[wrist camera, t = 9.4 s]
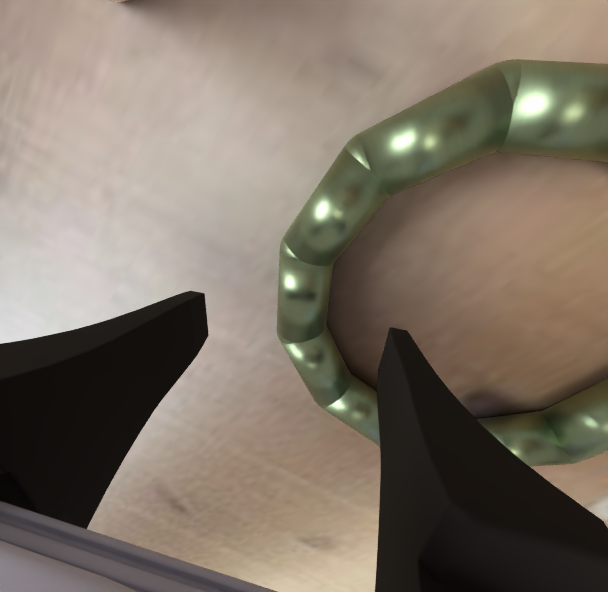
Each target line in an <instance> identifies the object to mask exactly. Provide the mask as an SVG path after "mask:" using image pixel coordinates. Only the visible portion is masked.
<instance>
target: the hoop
mask: <svg viewBox="0 0 608 592" xmlns="http://www.w3.org/2000/svg"><path fill="white" fill-rule="evenodd" d="M494 152H505V153H516V154H526V155H537V156H548V157H559V158H569V159H580V160H591V161H601V162H608V64H595V63H576V62H556V61H537V60H518V59H517V60H507V61H502V62H499V63H496V64H494V65H492V66H489V67H487V68H486V69H484V70H482V71H480V72H478V73H476V74H474V75H472V76H470V77H468V78H466V79H464V80H462V81H460V82H458V83H456V84H454V85H452V86H450V87H449V88H447V89H445V90H443V91H441V92H439V93H437V94H435V95H433V96H431V97H429V98H427V99H425V100H423V101H421V102H419V103H417V104H415V105H413V106H411V107H410V108H408V109H406V110H404V111H402V112H400V113H398V114H396V115H394V116H392V117H390V118H388V119H386V120H384V121H382V122H380V123H378V124H376V125H374V126H373V127H371V128H369V129H367V130H365V131H363V132H361V133H359V134H357V135H356V136H354V137H353V138H352V139H351V140H350V141H349V142H348V143H347V144H346V146H345V147H344V148H343V150H342V151H341V153H340V154H339V156H338V157H337V159H336V160H335V162H334V163H333V165H332V166H331V168H330V169H329V170H328V172H327V173H326V175H325V176H324V178H323V179H322V181H321V182H320V184H319V185H318V187H317V188H316V190H315V191H314V193H313V194H312V195H311V197H310V198H309V200H308V201H307V203H306V204H305V206H304V207H303V209H302V210H301V212H300V213H299V215H298V216H297V218H296V219H295V220H294V222H293V223H292V225H291V226H290V228H289V229H288V231H287V232H286V234H285V235H284V237H283V239H282V241H281V245H280V260H279V286H278V311H277V334H278V337H279V340H280V341H281V343H282V345H283V347H284V348H285V350H286V352H287V354H288V355H289V357H290V359H291V360H292V362H293V364H294V366H295V367H296V369H297V371H298V373H299V374H300V376H301V378H302V380H303V381H304V383H305V385H306V386H307V388H308V390H309V392H310V393H311V395H312V397H313V399H314V400H315V402H316V403H317V404H318V405H319V406H320V407H321V408H323V409H324V410H326V411H327V412H329V413H330V414H332V415H333V416H335V417H336V418H338V419H339V420H341V421H342V422H344V423H345V424H347V425H348V426H350V427H351V428H353V429H354V430H356V431H357V432H359V433H360V434H362V435H363V436H365V437H366V438H368V439H369V440H371V441H372V442H374V443H375V444H377V445H378V446H380V436H379V421H378V406H377V392H376V391H375V390H374V389H372V388H371V387H369V386H368V385H366V384H365V383H363V382H362V381H361V380H359V379H358V378H356V377H355V376H353V375H352V374H351V373H349V370H348V368H347V366H346V364H345V362H344V360H343V358H342V356H341V354H340V352H339V350H338V348H337V346H336V344H335V342H334V340H333V338H332V336H331V334H330V332H329V330H328V328H327V326H326V318H327V311H328V304H329V296H330V289H331V282H332V274H333V267H334V262H335V261H336V260H337V259H338V257H339V256H340V255H341V254H342V253H343V251H344V250H345V249H346V248H347V247H348V245H349V244H350V243H351V242H352V241H353V239H354V238H355V237H356V236H357V235H358V233H359V232H360V231H361V230H362V229H363V228H364V226H365V225H366V224H367V223H368V222H369V220H370V219H371V218H372V217H373V216H374V214H375V213H376V212H377V211H378V210H379V208H380V207H381V206H382V205H383V204H384V202H385V201H386V200H387V199H388V198H389V197H390V195H393V194H395V193H397V192H400V191H402V190H405V189H407V188H409V187H412V186H414V185H417V184H419V183H422V182H424V181H426V180H429V179H431V178H434V177H436V176H438V175H441V174H443V173H446V172H448V171H450V170H453V169H455V168H458V167H460V166H462V165H465V164H467V163H470V162H472V161H474V160H477V159H479V158H482V157H484V156H486V155H489V154H491V153H494ZM476 420H477V421H478V422H479V423H481V424H482V425H483V426H484V427H485V428H486V429H487V430H488V431H489V432H490V433H491V434H492V435H493V436H494V437H496V438H497V439H498V440H499V441H500V442H501V443H502V444H503V445H504V446H505V447H507V448H508V449H509V450H510V451H511V452H512V453H514V454H515V455H516V456H517V457H518V458H520V459H521V460H522V461H523V462H524V463H526V464H527V465H528V466H544V465H560V464H573V463H577V462H580V461H582V460H585V459H588V458H590V457H593V456H595V455H598V454H601V453H603V452H606V451H608V378H607V379H605V380H603V381H601V382H599V383H597V384H595V385H593V386H591V387H589V388H587V389H585V390H583V391H581V392H579V393H577V394H575V395H573V396H571V397H569V398H567V399H565V400H563V401H561V402H559V403H557V404H555V405H553V406H551V407H549V408H547V409H545V410H543V411H539V412H531V413H523V414H515V415H506V416H498V417H490V418H482V419H476Z"/></svg>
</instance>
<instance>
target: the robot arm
mask: <svg viewBox="0 0 608 592" xmlns="http://www.w3.org/2000/svg"><path fill="white" fill-rule="evenodd" d="M207 337H208V325H207V315H206V305H205V294H204V293H199V292H194V291H188V292H184V293H181V294H178V295H176V296H173V297H170V298H167V299H165V300H162V301H160V302H157V303H154V304H152V305H149V306H147V307H144V308H141V309H139V310H136V311H133V312H130V313H127V314H124V315H121V316H119V317H116V318H113V319H110V320H107V321H103V322H100V323H97V324H93V325H90V326H86V327H82V328H79V329H75V330H71V331H66V332H62V333H57V334H52V335H48V336H43V337H38V338H33V339H28V340H22V341H16V342H10V343H3V344H0V592H277V591H274V590H271V589H268V588H265V587H262V586H258V585H255V584H252V583H249V582H246V581H243V580H240V579H237V578H234V577H231V576H228V575H225V574H222V573H219V572H216V571H213V570H210V569H206V568H203V567H200V566H197V565H194V564H191V563H188V562H185V561H182V560H179V559H176V558H173V557H170V556H167V555H164V554H161V553H158V552H154V551H151V550H148V549H145V548H142V547H139V546H136V545H133V544H130V543H127V542H124V541H121V540H118V539H115V538H112V537H109V536H106V535H102V534H99V533H96V532H93V531H90V530H87V527H88V525H89V523H90V521H91V519H92V517H93V515H94V513H95V511H96V509H97V507H98V506H99V504H100V502H101V500H102V498H103V496H104V494H105V492H106V490H107V488H108V486H109V485H110V483H111V481H112V479H113V478H114V476H115V474H116V472H117V470H118V469H119V467H120V465H121V463H122V461H123V460H124V458H125V456H126V455H127V453H128V451H129V450H130V448H131V446H132V445H133V443H134V441H135V440H136V438H137V436H138V435H139V433H140V431H141V430H142V428H143V427H144V425H145V424H146V422H147V421H148V419H149V417H150V416H151V414H152V413H153V411H154V410H155V408H156V407H157V406H158V404H159V403H160V402H161V400H162V399H163V398H164V396H165V395H166V394H167V393H168V391H169V390H170V389H171V388H172V386H173V385H174V384H175V383H176V381H177V380H178V379H179V378H180V376H181V375H182V374H183V373H184V371H185V370H186V369H187V368H188V366H189V365H190V364H191V362H192V361H193V360H194V359H195V357H196V356H197V354H198V353H199V351H200V349H201V348H202V346H203V344H204V342H205V341H206V339H207ZM377 406H378V421H379V436H380V451H381V483H380V510H379V533H378V551H377V570H376V585H375V592H608V528H607V526H606V525H605V523H604V521H602V520H601V519H599V518H598V517H597V516H595V515H594V514H592V513H591V512H590V511H588V510H587V509H586V508H584V507H583V506H581V505H580V504H579V503H577V502H576V501H574V500H573V499H572V498H570V497H569V496H568V495H566V494H565V493H563V492H562V491H561V490H559V489H558V488H556V487H555V486H554V485H552V484H551V483H550V482H548V481H547V480H546V479H544V478H543V477H542V476H541V475H539V474H538V473H537V472H536V471H534V470H533V469H532V468H531V467H529V466H528V465H527V464H526V463H524V462H523V461H522V460H521V459H520V458H518V457H517V456H516V455H515V454H514V453H512V452H511V451H510V450H509V449H508V448H507V447H505V446H504V445H503V444H502V443H501V442H500V441H499V440H498V439H497V438H496V437H494V436H493V435H492V434H491V433H490V432H489V431H488V430H487V429H486V428H485V427H484V426H483V425H482V424H481V423H479V422H478V421H477V420H476V419H475V418H474V417H473V415H472V414H471V413H470V412H469V411H468V410H467V409H466V408H465V407H464V406H463V405H462V404H461V403H460V402H459V401H458V400H457V398H456V397H455V396H454V395H453V394H452V393H451V391H450V390H449V389H448V388H447V387H446V385H445V384H444V383H443V382H442V380H441V379H440V378H439V377H438V375H437V374H436V373H435V371H434V370H433V368H432V367H431V366H430V364H429V363H428V361H427V360H426V359H425V357H424V356H423V354H422V353H421V351H420V350H419V348H418V346H417V345H416V343H415V342H414V340H413V339H412V337H411V336H410V334H409V333H408V331H406V330H401V329H396V328H389V332H388V336H387V340H386V343H385V347H384V351H383V354H382V358H381V362H380V366H379V369H378V382H377Z"/></svg>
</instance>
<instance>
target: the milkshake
mask: <svg viewBox="0 0 608 592" xmlns="http://www.w3.org/2000/svg"><path fill="white" fill-rule="evenodd" d="M110 1H113V2H116V3H119V2H124V1H129V0H110Z"/></svg>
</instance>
